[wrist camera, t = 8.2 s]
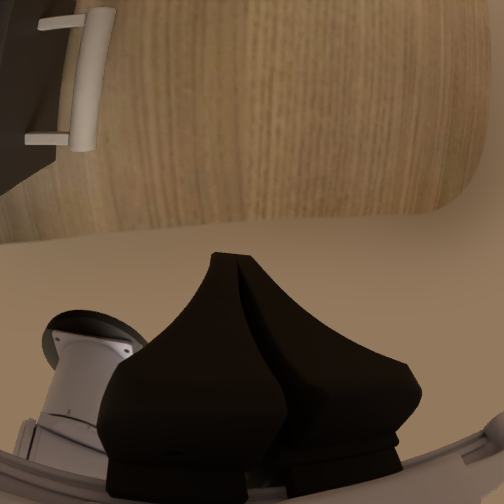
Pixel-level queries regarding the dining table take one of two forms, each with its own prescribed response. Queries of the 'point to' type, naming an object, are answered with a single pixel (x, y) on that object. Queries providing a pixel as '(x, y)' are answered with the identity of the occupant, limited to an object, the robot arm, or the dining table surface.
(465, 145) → the dining table surface
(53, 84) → the drawer
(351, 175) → the dining table surface
